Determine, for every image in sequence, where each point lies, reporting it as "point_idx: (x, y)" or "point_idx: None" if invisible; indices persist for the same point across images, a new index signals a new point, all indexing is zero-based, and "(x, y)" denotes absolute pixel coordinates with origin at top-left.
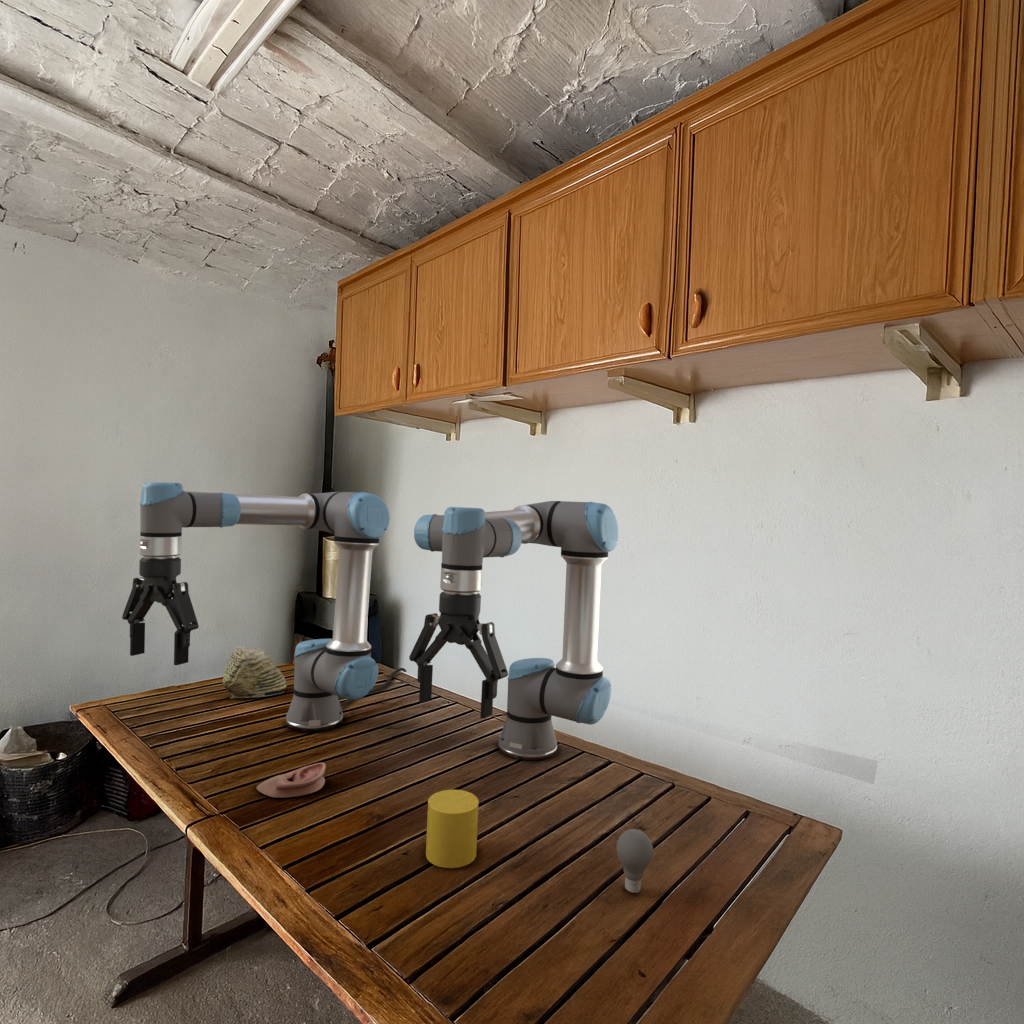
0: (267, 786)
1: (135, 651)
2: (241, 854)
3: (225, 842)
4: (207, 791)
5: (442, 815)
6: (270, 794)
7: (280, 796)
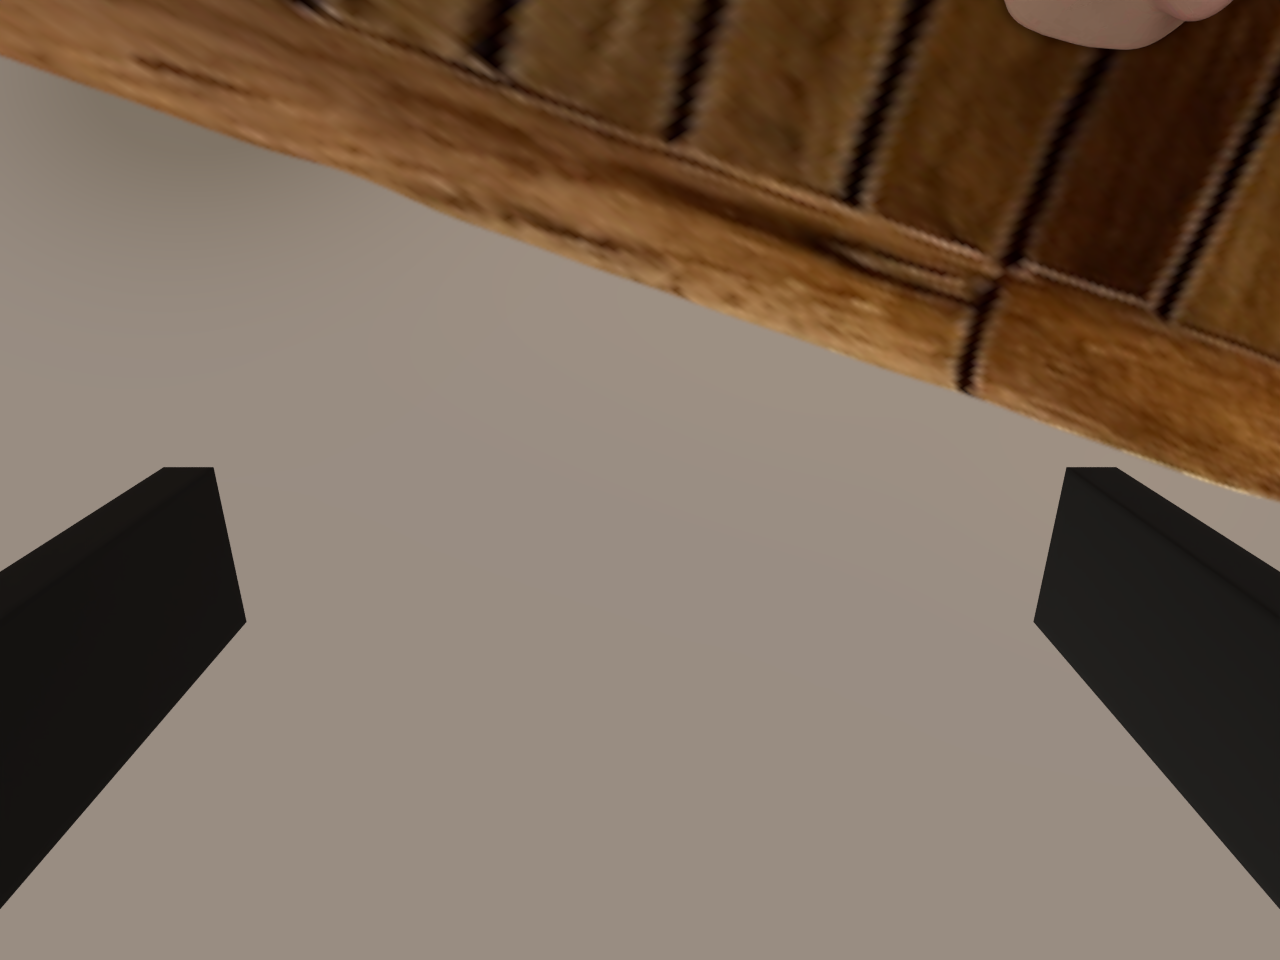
0: (1090, 4)
1: (212, 609)
2: (1265, 428)
3: (1166, 403)
4: (811, 154)
5: None
6: (1129, 43)
7: (1177, 25)
